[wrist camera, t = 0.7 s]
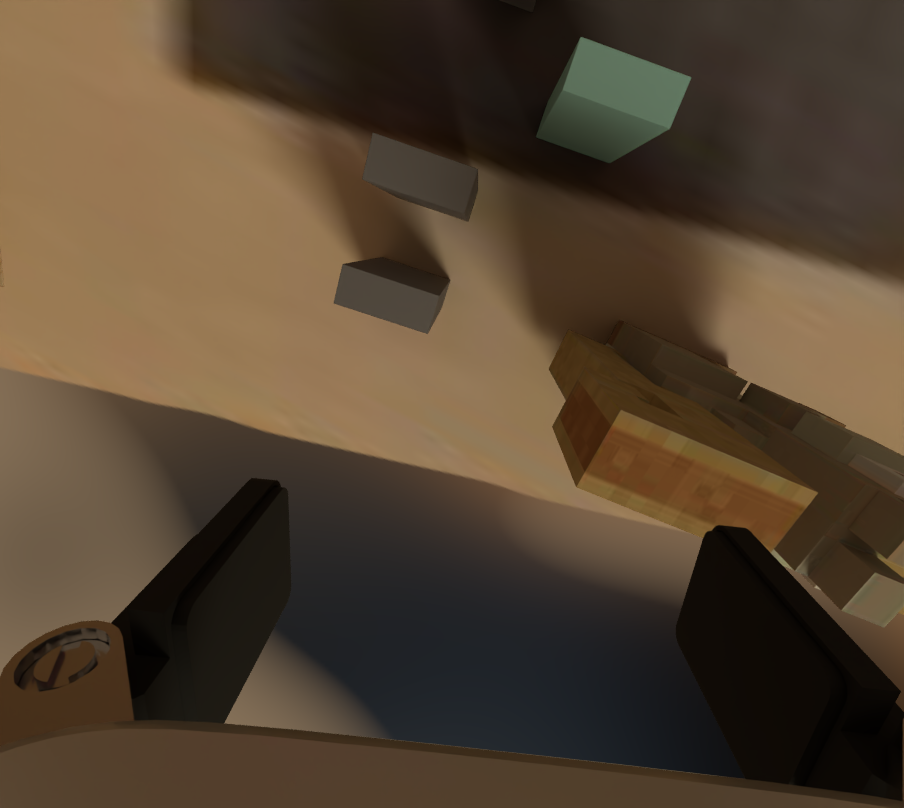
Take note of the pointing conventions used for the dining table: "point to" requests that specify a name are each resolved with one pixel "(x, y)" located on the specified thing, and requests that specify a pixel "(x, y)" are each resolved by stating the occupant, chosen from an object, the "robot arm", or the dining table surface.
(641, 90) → the domino
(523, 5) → the domino
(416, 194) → the domino
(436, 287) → the domino
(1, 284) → the model pyramid
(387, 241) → the dining table surface
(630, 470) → the toy
